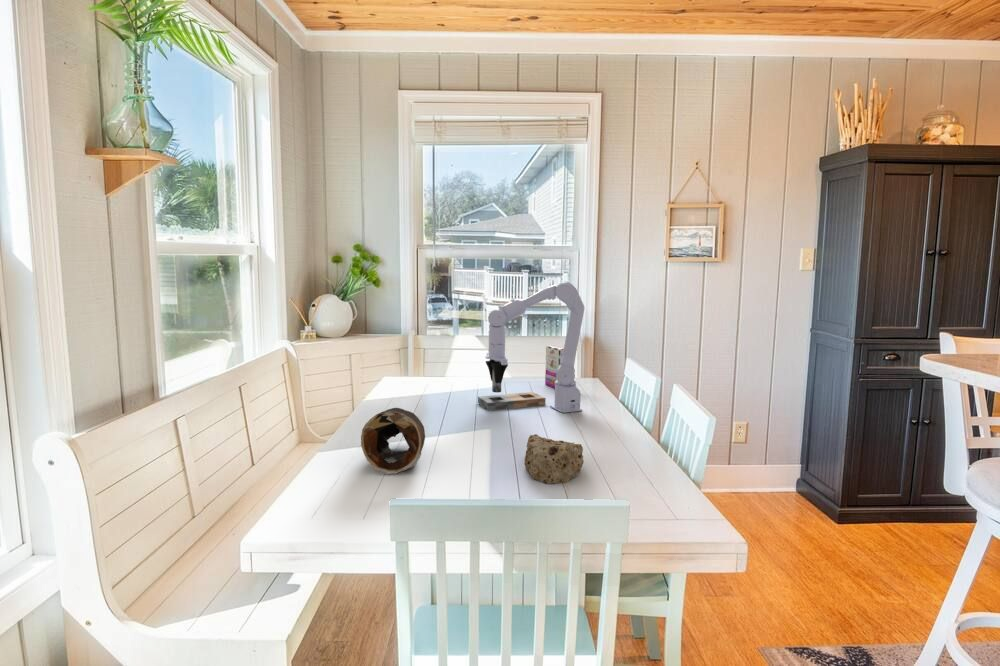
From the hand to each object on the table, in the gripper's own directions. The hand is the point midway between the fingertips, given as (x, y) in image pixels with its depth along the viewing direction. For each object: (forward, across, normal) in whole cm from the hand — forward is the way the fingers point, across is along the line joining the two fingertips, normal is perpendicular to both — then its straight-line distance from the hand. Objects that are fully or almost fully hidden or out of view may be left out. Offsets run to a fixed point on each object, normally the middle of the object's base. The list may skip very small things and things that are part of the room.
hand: (496, 381), depth 210 cm
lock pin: (+3, 0, 0) cm, 4 cm away
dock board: (+9, 0, +6) cm, 10 cm away
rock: (+9, +64, -11) cm, 66 cm away
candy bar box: (+9, -20, +35) cm, 41 cm away
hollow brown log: (+9, +42, -45) cm, 62 cm away
